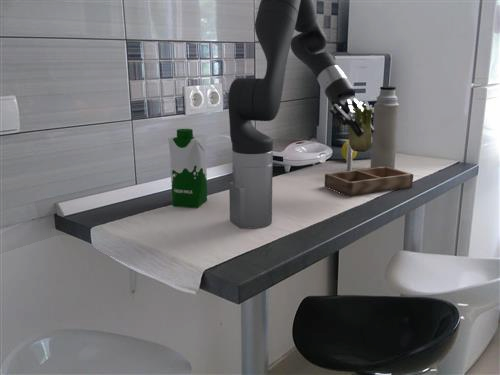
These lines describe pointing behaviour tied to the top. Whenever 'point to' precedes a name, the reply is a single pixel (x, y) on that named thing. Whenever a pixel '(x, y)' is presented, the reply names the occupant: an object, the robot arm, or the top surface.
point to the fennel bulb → (365, 140)
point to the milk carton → (188, 168)
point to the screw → (348, 159)
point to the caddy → (368, 181)
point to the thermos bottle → (385, 129)
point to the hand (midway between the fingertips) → (366, 133)
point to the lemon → (344, 151)
